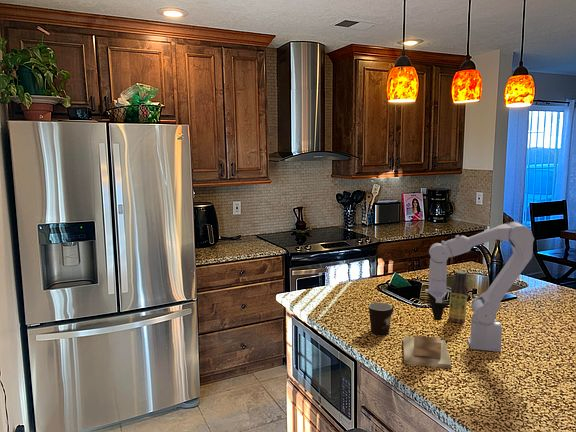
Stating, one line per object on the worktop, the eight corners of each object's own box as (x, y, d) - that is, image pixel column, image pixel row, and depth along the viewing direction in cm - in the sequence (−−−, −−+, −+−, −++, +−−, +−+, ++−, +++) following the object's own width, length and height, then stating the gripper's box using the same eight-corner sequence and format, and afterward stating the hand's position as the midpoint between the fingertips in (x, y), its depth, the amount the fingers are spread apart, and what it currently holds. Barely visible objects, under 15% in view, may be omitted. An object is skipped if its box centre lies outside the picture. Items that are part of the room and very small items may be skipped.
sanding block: (439, 353, 139) (439, 337, 138) (440, 359, 135) (441, 342, 134) (413, 351, 141) (414, 335, 140) (414, 356, 137) (414, 340, 136)
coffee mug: (374, 338, 154) (375, 311, 153) (364, 329, 162) (364, 303, 161) (403, 334, 157) (404, 308, 156) (391, 325, 165) (392, 300, 164)
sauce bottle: (447, 321, 168) (449, 272, 165) (449, 316, 173) (451, 268, 171) (465, 324, 165) (467, 274, 162) (466, 319, 170) (469, 270, 168)
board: (444, 343, 149) (444, 340, 149) (451, 368, 132) (451, 364, 131) (403, 339, 152) (403, 336, 152) (404, 363, 135) (404, 360, 135)
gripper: (424, 272, 155) (423, 308, 157) (427, 283, 141) (425, 322, 143) (444, 273, 153) (443, 309, 155) (449, 285, 140) (448, 324, 141)
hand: (436, 316), depth 149 cm, fingers open, 7 cm apart
